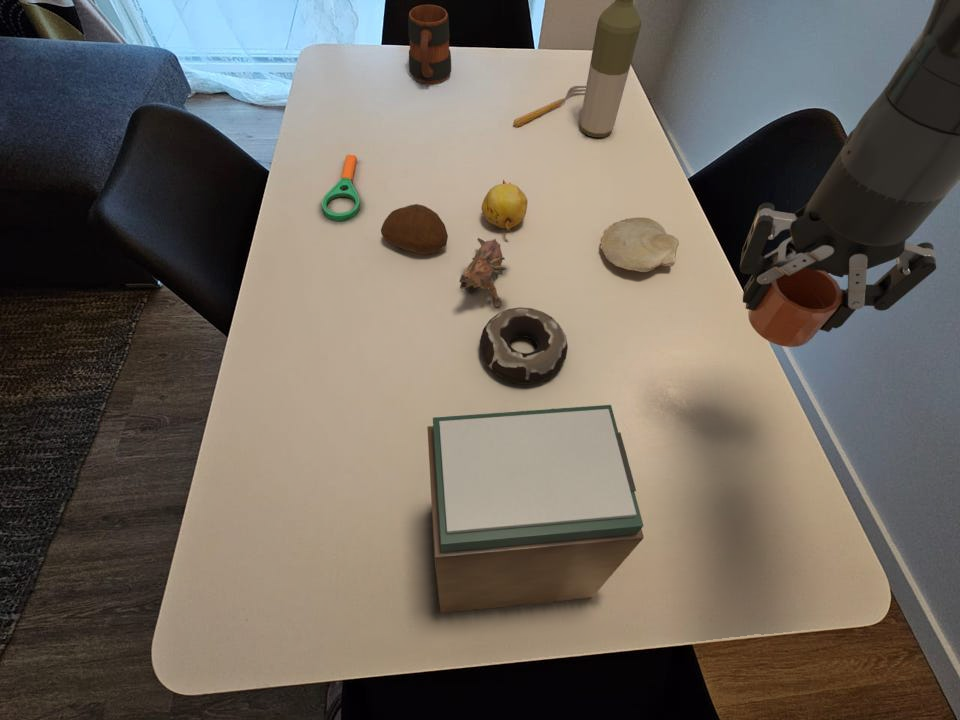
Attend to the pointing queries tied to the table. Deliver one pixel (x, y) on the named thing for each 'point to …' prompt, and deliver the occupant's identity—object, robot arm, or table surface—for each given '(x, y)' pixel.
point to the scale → (532, 478)
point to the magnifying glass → (343, 192)
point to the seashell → (639, 244)
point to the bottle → (609, 67)
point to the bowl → (796, 307)
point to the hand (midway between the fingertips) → (786, 313)
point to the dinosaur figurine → (484, 269)
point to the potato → (415, 229)
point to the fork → (548, 106)
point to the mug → (429, 44)
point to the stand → (522, 567)
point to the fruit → (504, 205)
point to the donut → (516, 363)
